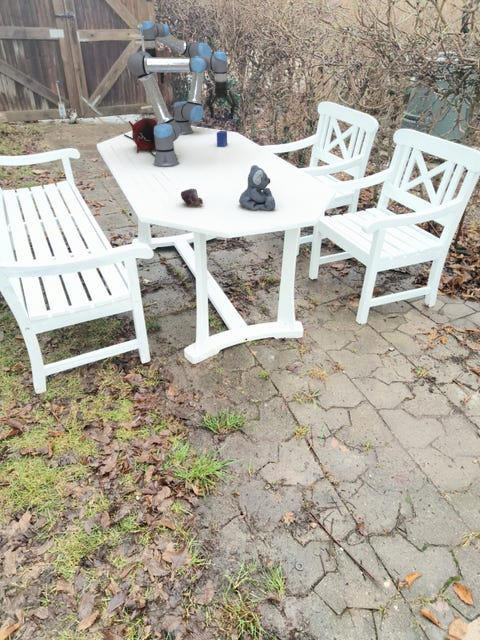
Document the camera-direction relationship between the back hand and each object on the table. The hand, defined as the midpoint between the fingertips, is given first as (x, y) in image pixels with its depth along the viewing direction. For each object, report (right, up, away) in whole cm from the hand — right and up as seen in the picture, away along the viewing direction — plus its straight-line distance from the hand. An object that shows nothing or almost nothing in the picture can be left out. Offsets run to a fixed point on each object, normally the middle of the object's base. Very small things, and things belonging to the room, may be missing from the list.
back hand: (154, 82), depth 319 cm
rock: (+36, -109, -88) cm, 145 cm away
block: (+48, -39, +14) cm, 63 cm away
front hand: (+50, -40, -32) cm, 71 cm away
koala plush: (+70, -110, -90) cm, 158 cm away
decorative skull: (-4, -44, +8) cm, 45 cm away
